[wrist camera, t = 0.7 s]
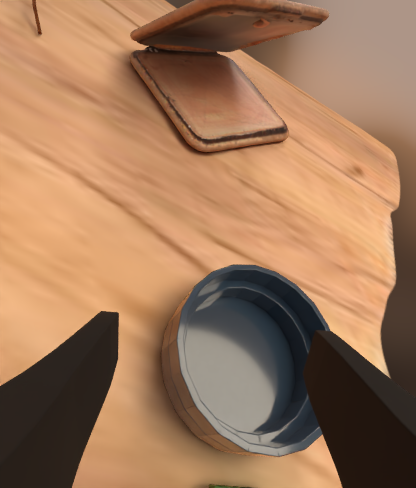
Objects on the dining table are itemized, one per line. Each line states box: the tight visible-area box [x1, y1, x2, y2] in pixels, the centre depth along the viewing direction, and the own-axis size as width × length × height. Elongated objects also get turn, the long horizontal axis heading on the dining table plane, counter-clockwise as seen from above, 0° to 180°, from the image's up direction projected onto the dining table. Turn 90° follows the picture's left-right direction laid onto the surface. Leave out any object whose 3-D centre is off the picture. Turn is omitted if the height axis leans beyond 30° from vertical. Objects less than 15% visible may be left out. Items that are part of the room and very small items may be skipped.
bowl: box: [161, 265, 330, 457], centre depth 25 cm, size 14×14×5 cm
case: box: [130, 0, 329, 152], centre depth 41 cm, size 20×21×16 cm
